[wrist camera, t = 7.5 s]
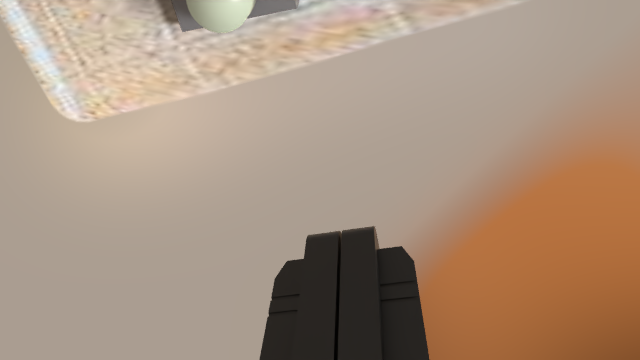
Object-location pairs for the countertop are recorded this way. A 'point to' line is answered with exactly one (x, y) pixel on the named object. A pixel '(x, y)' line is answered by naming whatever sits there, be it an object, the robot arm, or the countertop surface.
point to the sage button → (220, 13)
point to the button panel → (265, 4)
